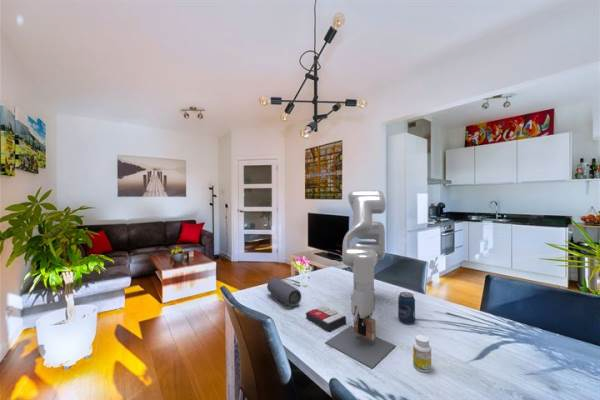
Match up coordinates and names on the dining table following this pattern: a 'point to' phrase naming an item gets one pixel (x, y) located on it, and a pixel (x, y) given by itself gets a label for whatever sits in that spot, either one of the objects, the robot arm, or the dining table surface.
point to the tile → (367, 328)
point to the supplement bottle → (422, 353)
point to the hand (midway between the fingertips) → (364, 332)
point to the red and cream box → (326, 318)
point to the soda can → (406, 308)
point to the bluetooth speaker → (284, 292)
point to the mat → (361, 347)
